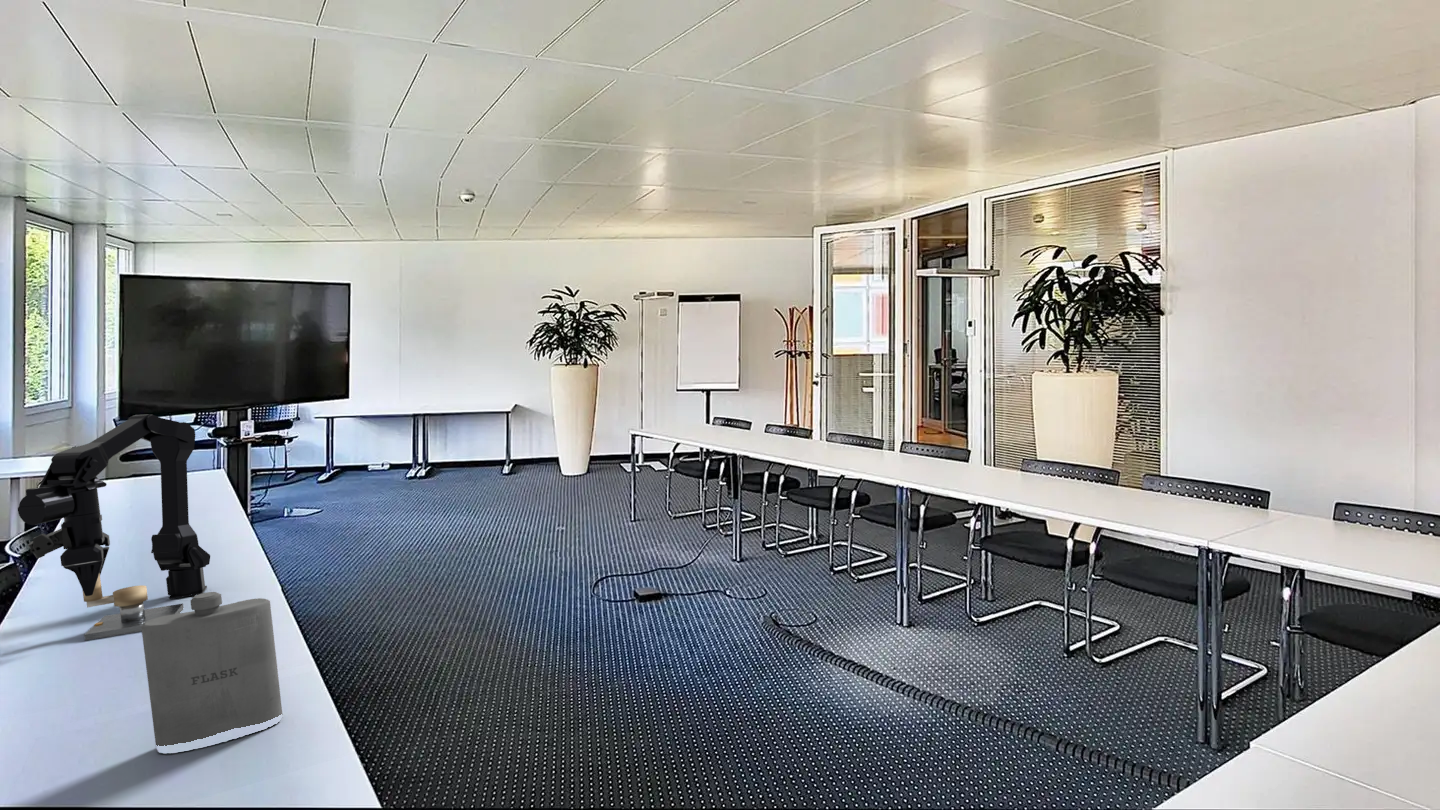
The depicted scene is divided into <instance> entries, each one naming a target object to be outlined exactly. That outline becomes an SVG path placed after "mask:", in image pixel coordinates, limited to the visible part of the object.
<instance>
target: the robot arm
mask: <svg viewBox="0 0 1440 810" xmlns="http://www.w3.org/2000/svg"><path fill="white" fill-rule="evenodd" d="M139 440H144V441H146V442H149V443H150V447H151V452H152V453H153V454H154V456H155V457H156V459H157V460H158V461H159V464H160V482H161V483H160V485H161V486H160V488H161V491H160V492H161V515H162V516H161V517H162V519H161V523H162V525H161V526H162V527H160V529H159V531H158V533H157V534H152V536H151V540H150V541H151V545H152V546H151V552H150V553H151V554H153V559H154V560H155V561H156V562H157V565H158V567H159V570H160V571H161V572H163V571H167V573H168V576H167V577H166V578H165V581H166V590H167V595H168V598H169V600H173V599H174V600H176V599H181V598H186V597H194V596H196V595H199V594H202V593H205V591H206V590H207V589H208V586H207V585H206V582H205V576H204V575H205V574H204V568H206V567H207V566H208V565H210V561H211V554H210V553H209V552H207V551H206V550H205V549H204V548H202V546H200V545H199V539H198V534H197V532H195V530H194V529H193V527H192V526H191V525H190V519H189V494H188V491H189V490H188V466H187V463H188V460H189V458H190V456H191V455H192V453H193V451H194V450H195V443H196V430H195V428H194V427H193V426H191V424H190V423H188V422H184V421H183V422H182V421H181V422H180V421H177V420H172V419H167V418H162V417H160V416H158V415H154V414H150V413H149V414H135V415H132V416H130V417H128V418H127V420H125V421H124V422H123V423H120V424H119V425H117V426H115V427H114V428H111V430H108V431H107V432H106V433H104V434H102V435H101V436H99V437H97V438H96V439H94V440H92V441H90V442H89V443H86V444H81V445H78V446H75V447H70V448H67V449H65V450H62V451H60V452H56V453H55V454H54V455H53V456H52V457H51V459H50V460H51V463H50V465H49V467H48V468H47V470H46V472H45V475H44V476H43V478H42V481H41V482H40V484H39V486H38V487H31V488H26V489H25V494H26V495H25V496H24V497H23V498H22V499H21V500H20V502H19V504H18V507H17V512H18V516H19V518H20V519H21V520H22V521H23V522H24V523H25V524H26V525H29V526H37V525H41V524H45V523H48V522H49V523H50V522H53V521H56V520H61V519H63V522H62V523H61V525H60V527H61V528H60V529H57V530H55V531H52V532H50V533H47V534H46V533H41V534H39V535H38V536H35V537H33V538H32V539H33V540H32V541H30V542H29V543H28V545H27V546H28V547H29V551H30V553H32V554H33V555H34V557H35V558H36V559H40V558H43V557H45V555H47V554H49V553H52V552H53V551H56V550H58V549H61V548H62V547H63V550H64V551H62V552H63V553H61V555H60V557H59V558H60V565H61V567H63V568H64V569H65V570H69V571H70V572H73V573H74V574H75V576H76V578H77V580H78V583H79V584H80V587H81V589H83V590H82V592H83V591H84V594H85V596H90V595H93V592H94V589H95V585H96V582H97V579H98V576H99V573H100V576H101V575H102V571H103V568H104V565H105V562H106V559H107V557H108V553H109V550H110V547H109V546H110V545H111V541H110V535H109V534H107V533H105V532H103V525H102V524H103V523H102V520H103V514H101V508H100V507H101V506H100V501H99V492H98V491H99V490H98V489H99V488H106V487H107V483H106V482H105V481H103V480H101V479H99V478H98V477H97V476H98V475H100V474H102V472H103V471H104V470H105V469H106V468H107V467H108V465H109V461H110V460H111V459H112V458H113V457H115V456H116V455H118V454H119V453H120V452H123V451H124V450H126V449H127V448H129V447H131V446H132V445H133V444H135V443H136V442H138V441H139Z"/></svg>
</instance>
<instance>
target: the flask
mask: <svg viewBox="0 0 1440 810" xmlns="http://www.w3.org/2000/svg"><path fill="white" fill-rule="evenodd" d="M222 599H223V598H222V594H221V593H219V592H217V591H209V592H204V593H202V594H199V595H194V596H192V598H191V599H190V608H191V610H192V611H187V612H181V613H179V614H173V615H166V616H162V617H158V618H155V619H152V620H149V621H147V622H146V623H144V624H143V625H142V626H141V629H142V631H141V636H142V644H143V652H144V658H145V659H144V660H145V668H146V674H147V675H146V676H147V677H146V678H147V683H148V692H149V700H150V709H151V716H152V717H151V718H152V726H153V733H154V742H155V746H156V745H157V746H158V745H159V746H164V745H165V746H167V745H174V744H178V743H186V742H191V741H194V740H197V739H203V738H206V737H209V736H213V735H216V734H217V733H221V732H225V731H228V730H231V729H234V728H241V727H246V726H250V725H255V724H260V723H263V722H266V721H268V720H271V719H273V718H275V717H278V716H279V715H281V714H282V715H283V709H282V708H283V706H282V698H281V697H282V696H281V691H280V690H281V688H280V680H279V679H280V678H279V673H278V672H279V671H278V663H277V660H278V659H277V652H276V644H275V634H274V625H273V617H272V609H271V608H272V607H271V606H272V605H271V600H269V599H268V598H267V599H266V598H262V597H260V598H258V597H257V598H251V599H245V600H241V601H236V602H232V603H228V604H224V605H223V604H222V603H223V600H222Z"/></svg>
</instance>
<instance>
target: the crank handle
mask: <svg viewBox="0 0 1440 810" xmlns="http://www.w3.org/2000/svg"><path fill="white" fill-rule="evenodd" d="M81 589H82V588H81ZM82 597H83V602H84V603H86V608H92V607H98V606H105V605H109V604H113V606H114V607H121V606H129V605H134V604H138V603H141V602H143V603H144V602H145V601H146V602H147V601H148V600H149V596H148V589H147V585H132V586H127V587H123V588H120V589H116V590H114V591H112V594H111V595H105V596H103V590H102V582H101V575H100V573H99V576H98V579H97V582H96V585H95V589H94V592H93V595H90V596H85V594H84V591H83V589H82Z"/></svg>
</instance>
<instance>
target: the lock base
mask: <svg viewBox="0 0 1440 810" xmlns="http://www.w3.org/2000/svg"><path fill="white" fill-rule="evenodd" d="M183 608H185V607H184V603H177V604H172V605H170V604H169V605H165V606H158V607H153V608H152V607H151V608H145V605H144V602H141V603H138V604H134V605H129V606H121V607H119V613H114V614H108V615H107V614H106V615H103V616H102V618H101V619H99V620H98V621H97V622H95V623H94V624H93V626H92V627H91V628H90V629H88V631H87V632H85V633H84V635H83V637H84V642H85V641H90V640H91V641H92V640H97V639H103V638H111V637H115V636H121V635H127V634H135V633H139V632H142V629H141V626H142V625H143V624H144V623H146V622H147V621H149V620H152V619H155V618H158V617H162V616H166V615H173V614H179V613H180V612H181V611H182V612H183V611H184V609H183ZM182 612H181V613H182Z"/></svg>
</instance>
